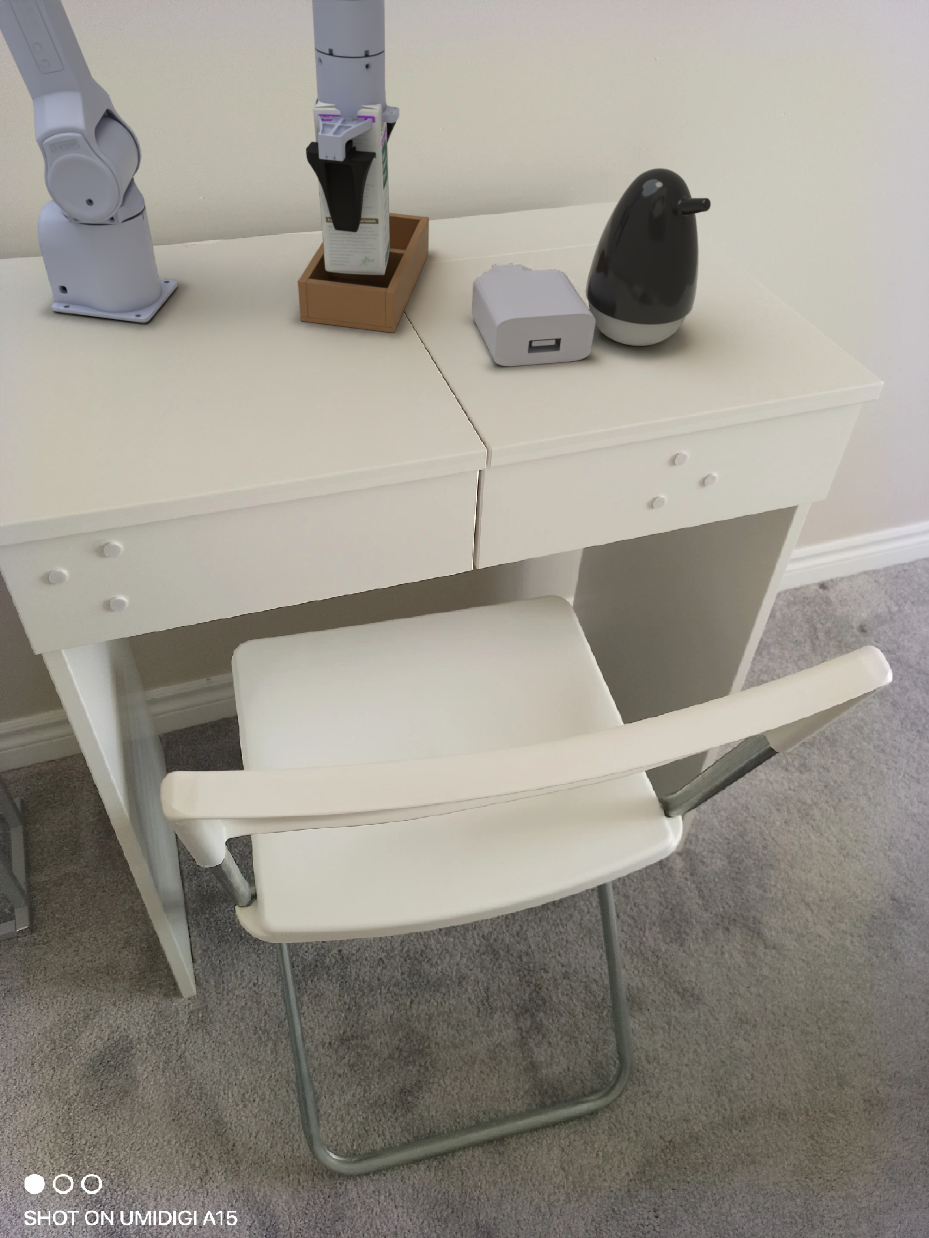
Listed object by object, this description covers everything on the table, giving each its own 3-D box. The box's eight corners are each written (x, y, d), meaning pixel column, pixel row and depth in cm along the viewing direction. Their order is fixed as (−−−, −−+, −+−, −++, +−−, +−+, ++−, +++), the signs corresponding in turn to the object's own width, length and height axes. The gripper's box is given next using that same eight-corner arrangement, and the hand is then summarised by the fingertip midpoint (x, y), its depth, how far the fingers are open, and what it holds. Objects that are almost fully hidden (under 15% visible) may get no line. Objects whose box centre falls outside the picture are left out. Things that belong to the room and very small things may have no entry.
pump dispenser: (638, 372, 87) (672, 204, 76) (558, 327, 92) (579, 163, 82) (708, 339, 92) (749, 177, 81) (628, 297, 97) (656, 140, 87)
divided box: (300, 321, 91) (297, 281, 88) (345, 244, 103) (344, 207, 100) (394, 333, 90) (393, 293, 87) (428, 254, 102) (429, 217, 99)
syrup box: (386, 276, 88) (384, 107, 78) (322, 273, 88) (312, 103, 78) (390, 249, 93) (388, 85, 82) (329, 246, 92) (320, 81, 82)
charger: (543, 285, 98) (589, 360, 88) (456, 291, 97) (493, 368, 86) (548, 240, 95) (597, 312, 85) (458, 245, 93) (497, 319, 83)
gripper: (377, 79, 72) (380, 253, 82) (415, 29, 82) (413, 189, 92) (287, 70, 73) (300, 244, 82) (336, 21, 83) (342, 181, 93)
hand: (355, 215), depth 87 cm, fingers closed on syrup box, 6 cm apart
